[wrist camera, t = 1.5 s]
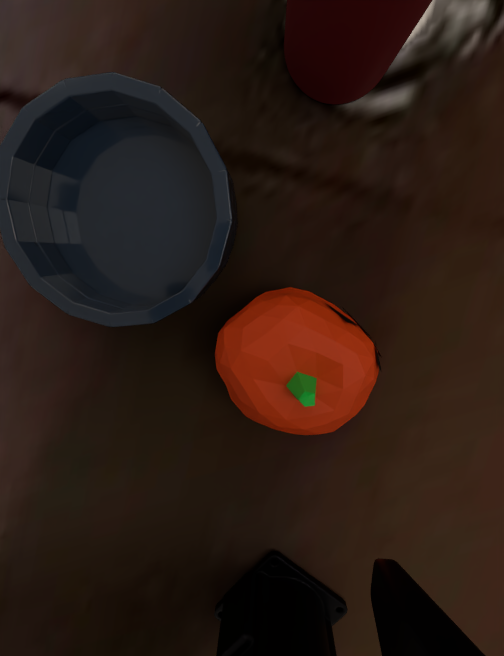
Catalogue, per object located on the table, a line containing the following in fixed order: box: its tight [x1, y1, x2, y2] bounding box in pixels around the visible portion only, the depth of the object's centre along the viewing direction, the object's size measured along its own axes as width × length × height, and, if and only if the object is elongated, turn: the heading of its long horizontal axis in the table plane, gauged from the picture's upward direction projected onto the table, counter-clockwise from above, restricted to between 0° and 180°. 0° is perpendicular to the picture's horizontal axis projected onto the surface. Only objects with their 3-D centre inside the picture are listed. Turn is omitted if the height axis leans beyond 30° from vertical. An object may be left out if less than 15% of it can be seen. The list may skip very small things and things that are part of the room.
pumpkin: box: [215, 287, 382, 435], centre depth 17 cm, size 7×8×6 cm
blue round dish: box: [0, 72, 238, 327], centre depth 17 cm, size 11×11×4 cm
